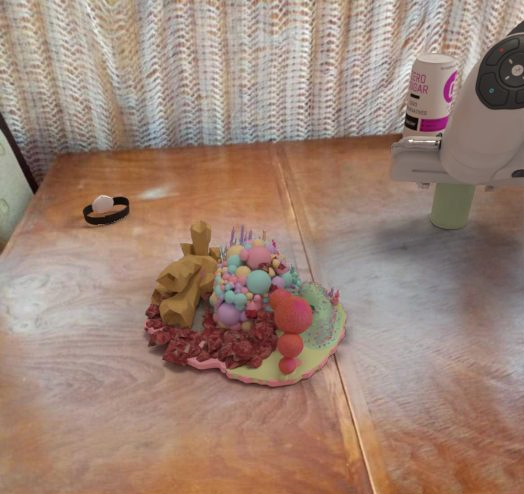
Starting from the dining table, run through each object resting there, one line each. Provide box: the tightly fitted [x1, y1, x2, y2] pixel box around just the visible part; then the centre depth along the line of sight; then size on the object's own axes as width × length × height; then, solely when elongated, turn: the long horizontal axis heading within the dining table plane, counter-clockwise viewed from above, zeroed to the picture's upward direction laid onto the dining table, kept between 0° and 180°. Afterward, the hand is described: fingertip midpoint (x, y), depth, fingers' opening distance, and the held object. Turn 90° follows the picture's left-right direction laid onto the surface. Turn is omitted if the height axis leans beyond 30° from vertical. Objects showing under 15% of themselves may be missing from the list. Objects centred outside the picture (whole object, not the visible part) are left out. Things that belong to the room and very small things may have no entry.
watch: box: [82, 194, 131, 226], centre depth 87 cm, size 8×5×4 cm, turn 124°
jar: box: [429, 183, 477, 230], centre depth 80 cm, size 6×6×10 cm
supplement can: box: [402, 52, 459, 138], centre depth 103 cm, size 8×8×15 cm
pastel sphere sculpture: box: [142, 220, 347, 387], centre depth 65 cm, size 25×24×9 cm
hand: (456, 185), depth 80 cm, fingers open, 8 cm apart
